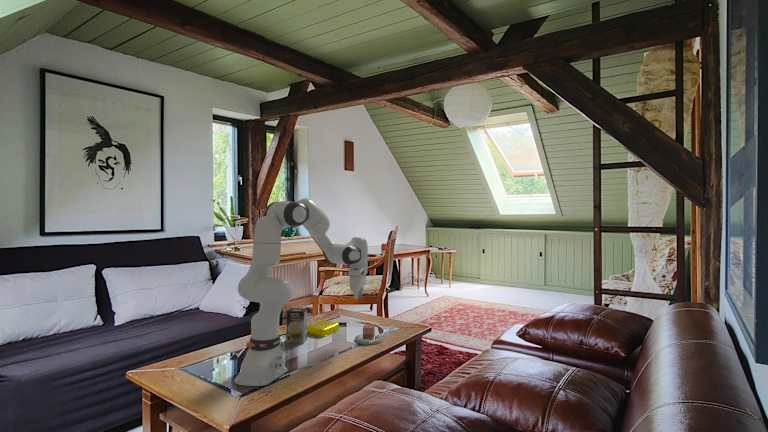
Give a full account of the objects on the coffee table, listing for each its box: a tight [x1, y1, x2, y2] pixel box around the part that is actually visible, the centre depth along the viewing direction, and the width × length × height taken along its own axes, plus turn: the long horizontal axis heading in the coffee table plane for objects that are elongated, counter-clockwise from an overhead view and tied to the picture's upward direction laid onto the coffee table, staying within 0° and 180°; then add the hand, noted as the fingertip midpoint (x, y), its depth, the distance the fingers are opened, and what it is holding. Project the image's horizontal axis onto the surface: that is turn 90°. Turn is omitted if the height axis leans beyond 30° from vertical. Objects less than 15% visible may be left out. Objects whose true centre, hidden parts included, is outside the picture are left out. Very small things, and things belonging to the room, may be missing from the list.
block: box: [362, 323, 376, 340], centre depth 212 cm, size 5×5×6 cm
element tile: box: [307, 318, 340, 338], centre depth 226 cm, size 15×15×5 cm
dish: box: [354, 333, 384, 346], centre depth 212 cm, size 14×14×1 cm
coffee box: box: [285, 307, 308, 345], centre depth 209 cm, size 9×6×16 cm
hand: (358, 297), depth 211 cm, fingers open, 8 cm apart
